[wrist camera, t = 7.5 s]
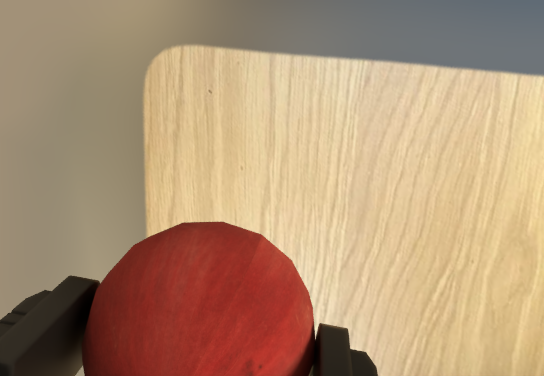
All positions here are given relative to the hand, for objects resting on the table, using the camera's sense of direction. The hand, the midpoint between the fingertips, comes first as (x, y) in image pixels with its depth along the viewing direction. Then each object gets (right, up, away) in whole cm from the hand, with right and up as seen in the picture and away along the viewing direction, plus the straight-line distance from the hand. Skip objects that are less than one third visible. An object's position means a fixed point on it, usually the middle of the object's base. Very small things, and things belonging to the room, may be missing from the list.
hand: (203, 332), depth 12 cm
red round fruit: (0, +1, +4) cm, 4 cm away
